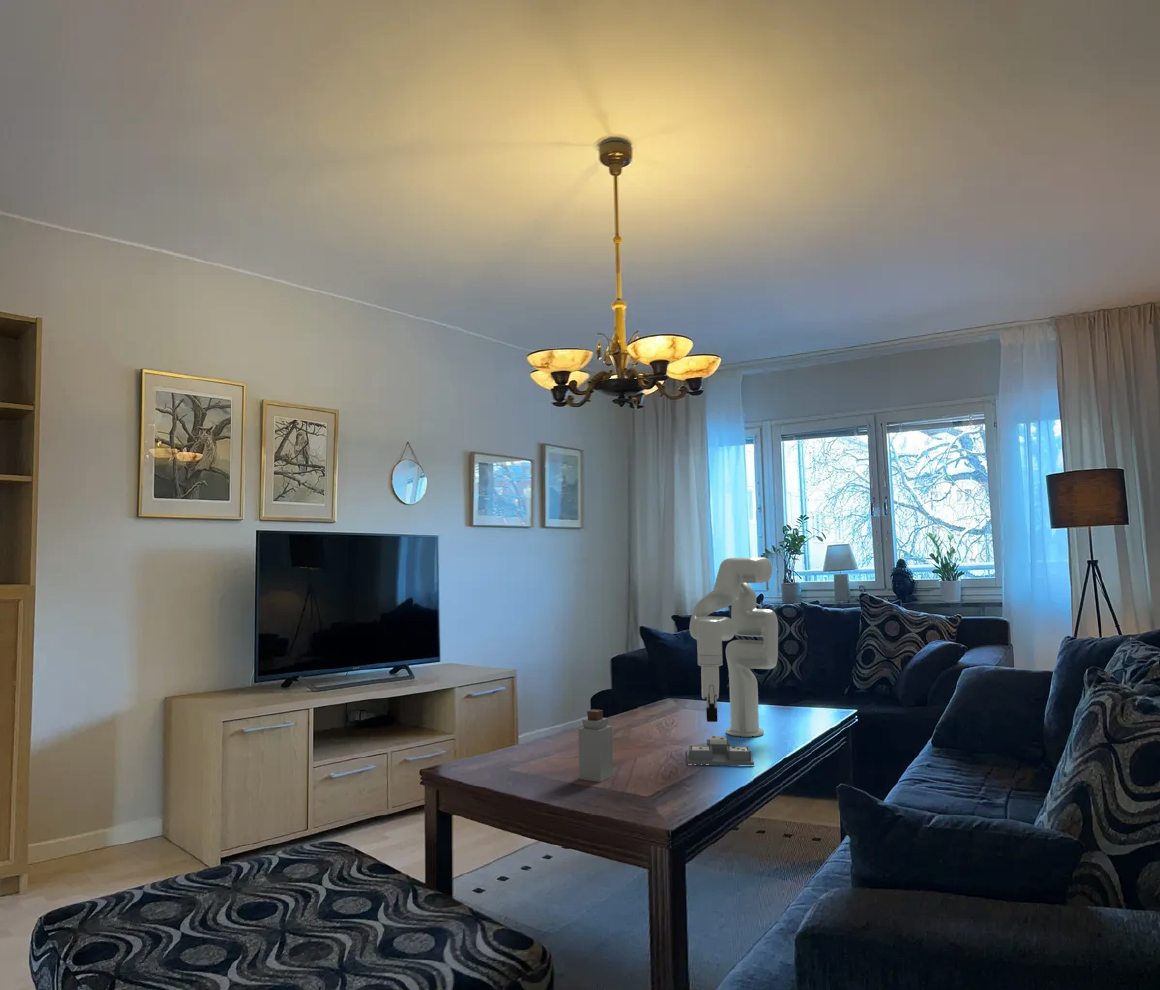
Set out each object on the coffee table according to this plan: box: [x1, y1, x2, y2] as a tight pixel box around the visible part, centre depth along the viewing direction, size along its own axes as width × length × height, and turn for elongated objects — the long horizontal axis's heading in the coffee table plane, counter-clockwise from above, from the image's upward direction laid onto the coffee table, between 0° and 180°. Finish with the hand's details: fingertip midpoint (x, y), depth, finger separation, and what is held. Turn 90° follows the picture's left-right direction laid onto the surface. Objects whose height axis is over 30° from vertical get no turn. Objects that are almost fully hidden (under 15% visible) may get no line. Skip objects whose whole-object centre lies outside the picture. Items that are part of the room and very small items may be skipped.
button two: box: [708, 735, 728, 744], centre depth 241 cm, size 5×5×2 cm
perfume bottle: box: [578, 708, 614, 783], centre depth 218 cm, size 7×7×18 cm
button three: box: [729, 747, 748, 751], centre depth 232 cm, size 5×5×2 cm
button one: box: [691, 745, 709, 750], centre depth 233 cm, size 5×5×2 cm
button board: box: [686, 739, 755, 766], centre depth 237 cm, size 18×19×4 cm
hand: (712, 721), depth 240 cm, fingers closed
